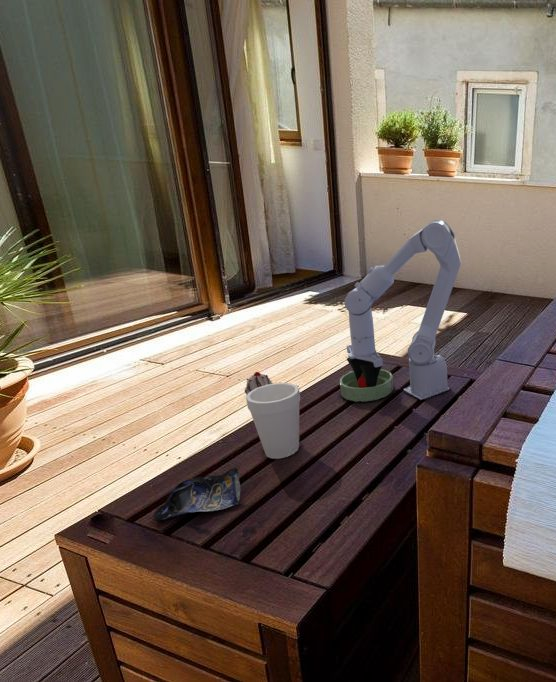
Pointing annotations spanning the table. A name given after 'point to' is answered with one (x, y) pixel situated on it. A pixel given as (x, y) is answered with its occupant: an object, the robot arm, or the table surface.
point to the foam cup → (276, 418)
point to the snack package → (202, 495)
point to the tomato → (362, 382)
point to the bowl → (366, 394)
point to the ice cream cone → (256, 382)
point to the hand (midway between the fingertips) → (366, 384)
